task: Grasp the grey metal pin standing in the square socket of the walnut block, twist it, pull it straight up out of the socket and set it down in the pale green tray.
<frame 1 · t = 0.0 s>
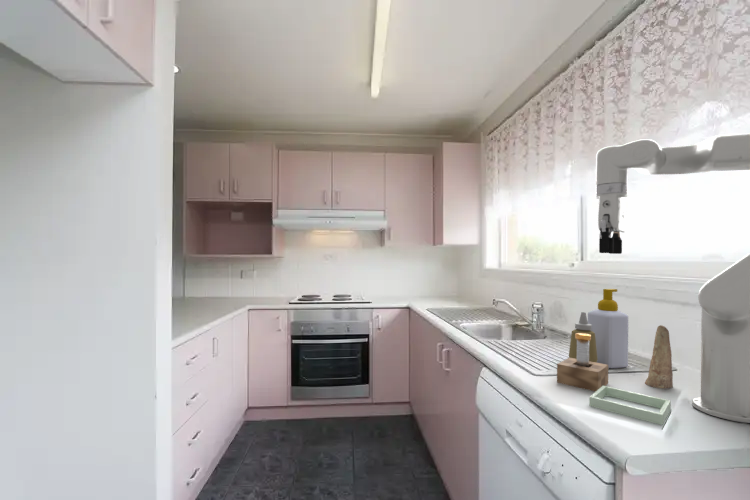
hand: (610, 253, 105), 37 cm above the countertop, tool pointing down, fingers open, 9 cm apart
tapered stone wedge: (658, 389, 103), on the countertop
socket block: (582, 386, 104), on the countertop
squeeze bottle: (582, 369, 120), on the countertop
soap bottle: (607, 365, 126), on the countertop
pin: (582, 382, 104), point 1 cm above the countertop, touching socket block
tray: (629, 411, 87), on the countertop
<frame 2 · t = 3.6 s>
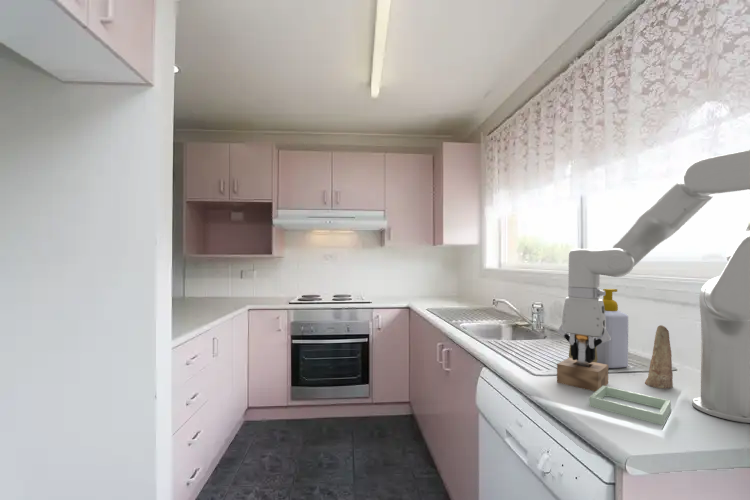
hand: (582, 359, 104), 7 cm above the countertop, tool pointing down, fingers closed on pin, 3 cm apart
pin: (582, 382, 104), point 1 cm above the countertop, touching gripper, socket block
everything else where it was.
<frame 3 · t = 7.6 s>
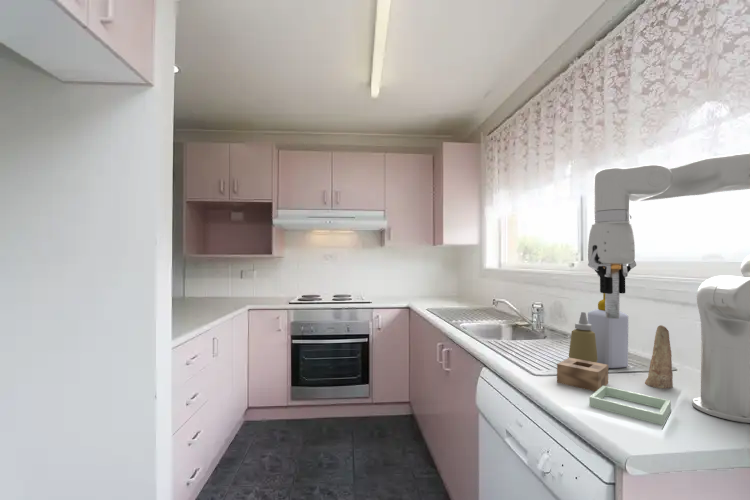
hand: (612, 292, 94), 27 cm above the countertop, tool pointing down, fingers closed on pin, 3 cm apart
pin: (612, 317, 94), point 21 cm above the countertop, touching gripper
everything else where it was.
when the fingers open (9 cm above the countertop, at t = 11.5 s): pin drops 2 cm, resting on tray.
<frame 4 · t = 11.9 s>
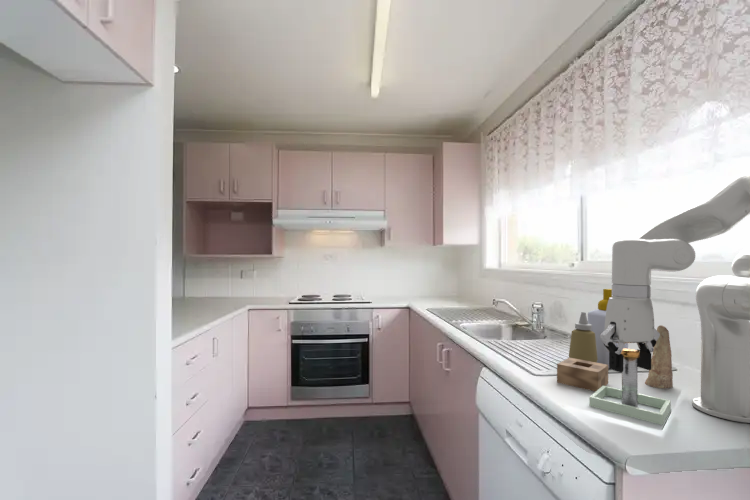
hand: (630, 368, 87), 10 cm above the countertop, tool pointing down, fingers open, 7 cm apart
pin: (629, 408, 87), point 1 cm above the countertop, touching tray
everything else where it was.
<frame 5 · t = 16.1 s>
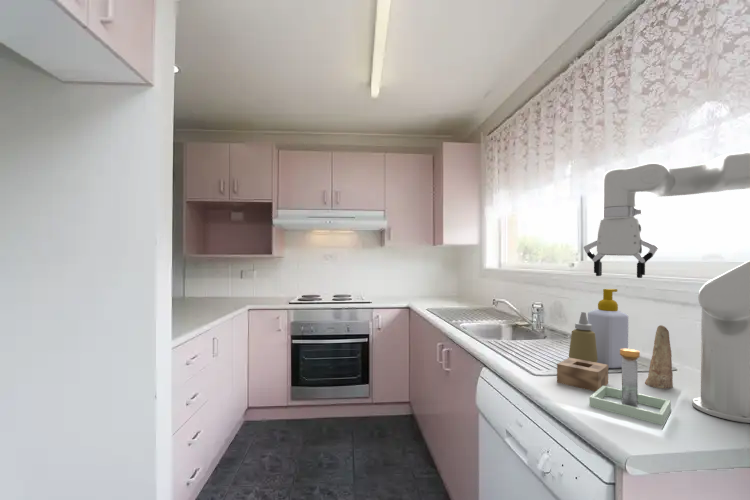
hand: (618, 276, 104), 30 cm above the countertop, tool pointing down, fingers open, 9 cm apart
nothing on the countertop moved.
at the end: pin inside the target area on the tray (0.1 cm from its centre), point 0.8 cm above the tray's base; the gripper is holding nothing; pin touching tray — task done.
